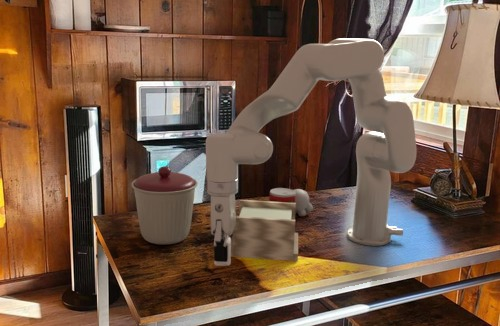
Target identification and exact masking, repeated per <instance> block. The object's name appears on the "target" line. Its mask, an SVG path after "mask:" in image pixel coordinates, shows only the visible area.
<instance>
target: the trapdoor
mask: <svg viewBox="0 0 500 326" xmlns="http://www.w3.org/2000/svg"><path fill="white" fill-rule="evenodd" d="M240 216H242V217H258V218H274V219H290V220H291V216H292V209H277V208H261V207H244V206H243V207H242V210H241V213H240Z"/></svg>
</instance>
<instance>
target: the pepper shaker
mask: <svg viewBox="0 0 500 326" xmlns="http://www.w3.org/2000/svg"><path fill="white" fill-rule="evenodd" d="M222 233H225V232H222ZM221 238H222V239H223V240H224V237H221ZM231 239H232V237H230V238H229V236H228V235H227V241H226V246H228V260H227V262H219V261H214V260H213V263H214V266H219V267H221V266H222V267H223V266H230V265H231V261H232V259H231V258H232V257H231ZM213 240H214V241H213V243H214V242H215V237H214V239H213Z"/></svg>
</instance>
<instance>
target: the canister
mask: <svg viewBox="0 0 500 326" xmlns="http://www.w3.org/2000/svg"><path fill="white" fill-rule="evenodd" d="M198 184H199V183H198V181H197V180H196V179H194V178H193V177H192V176H190V175H188V174H185V173H181V172H175V171H174V172H173V171H172V169H171V168H170V167H169V166H166V165H163V166H161V167H159V169H158V171H157V172H151V173H146V174H143V175H141V176H139V177H137V178H136V179H134V180H133V181H132V182H131V184H130V185H131V187H132V189H133V190H134V196H135V202H136V203H135V205H136V210H137V211H136V212H137V217H138V224H139V230H140V233H141V236H142V238H143V239H144V241H146V242H148V243H150V244H155V245H161V246H162V245H163V246H164V245H166V246H167V245H173V244H174V245H175V244H177V243H181V242H182V241H184V240H185V239H186V238H187V237H188V236H189V233H190V230H191V226H192V218H193V211H194V210H193V209H194V201H195V192H196V188H197V187H198Z"/></svg>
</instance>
